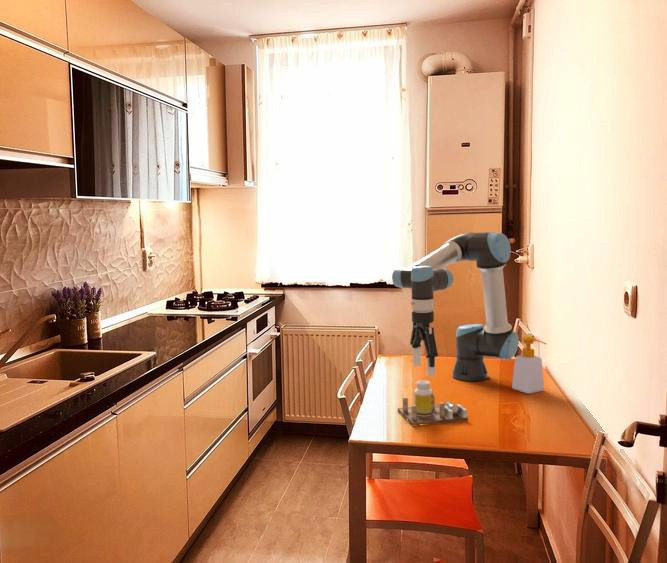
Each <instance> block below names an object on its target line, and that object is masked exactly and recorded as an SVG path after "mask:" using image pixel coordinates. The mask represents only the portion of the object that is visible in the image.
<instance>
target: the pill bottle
mask: <svg viewBox="0 0 667 563" xmlns="http://www.w3.org/2000/svg"><path fill="white" fill-rule="evenodd" d="M416 387H417V388H415V389H414V391H413V392H414V393H413V397H414V398H413V401H414V404H413V405H416V406H417V416H421V417H428V416H431V415H432V414H433V395H434V393H433V390H432V389H431V388H430V387H431V382H430V381H429V380H417V381H416Z"/></svg>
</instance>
